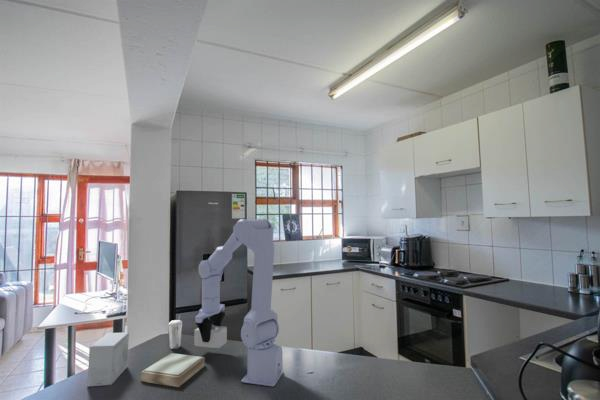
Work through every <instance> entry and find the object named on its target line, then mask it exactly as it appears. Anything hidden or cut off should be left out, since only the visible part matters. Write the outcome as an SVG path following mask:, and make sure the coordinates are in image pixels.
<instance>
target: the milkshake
mask: <svg viewBox="0 0 600 400" xmlns="http://www.w3.org/2000/svg"><path fill="white" fill-rule="evenodd" d="M178 315H179V316H178V319H174V320H171V321H170V322H169V323H168V335H169V337H168V338H169V348H170V349H171V350H177V349H179V348H180V347H181V342H182V341H181V339H182V332H183V331H182V329H183V321H182V320H180V319H181V314H178Z"/></svg>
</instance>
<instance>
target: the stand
mask: <svg viewBox="0 0 600 400" xmlns="http://www.w3.org/2000/svg"><path fill="white" fill-rule="evenodd" d="M205 359H206V358H205V357H204V356H198V355H197V356H196V355H189V354H181V353H173V352H172V353H169V354H168V355H166V356H164V357H162V358H161V359H159V360H158V361H156V362H154V363H153V364H152V365H150V366H148V367H146V368H145V369H144V370H142V371H140V375H141V376H140V382H144V383H150V384H156V385H162V386H168V387H175V388H179V387H181V386H182V385H183V384H184V383H186V382H187V381H188V380H189V379H191V378H192V377H193V376H194V375H195V374H197V373H198V372H200V371H201V370H202V369H204V367H205V363H206V362H205Z"/></svg>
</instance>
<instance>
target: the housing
mask: <svg viewBox="0 0 600 400" xmlns="http://www.w3.org/2000/svg"><path fill="white" fill-rule="evenodd" d="M193 333H194V336H193V338H194V340H193V341H194V343H193V346H195V347H200V348H201V347H202V348H204V347H205V348H211V349H213V348H214V349H220V348H221V347H222V346H224V345H225V344H226V343H227V342H228V341H227V339H228V338H227V337H228V335H227V334H228V328H227V326H222V325H221V326H215V325H212V327H211V333H210V340H209V342H203V341H202V337H201V333H200V330H199V328H198V327H197V328H196V329H194V330H193Z"/></svg>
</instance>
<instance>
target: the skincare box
mask: <svg viewBox="0 0 600 400" xmlns="http://www.w3.org/2000/svg"><path fill="white" fill-rule="evenodd" d="M129 334H130V333H129V332H128V331H127V332H125V331H124V332H107V333H106V334H104V335H103V336H102V337H101V338H99V339H98V340H96V341H95V342H94V343H92V345H90V346H89V350H88V351H89V352H88V353H89V354H88V371H87V379H86V380H87V381H86V383H87V384H86V387H87V388H88V387H101V386H112V385H113V384H114V383H115V382H116V380H117V379H118V378H119V377H120V376H121V375H122V373H123V372H124V371H125V370H126V369H127V368H128V355H129V336H130V335H129Z"/></svg>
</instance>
